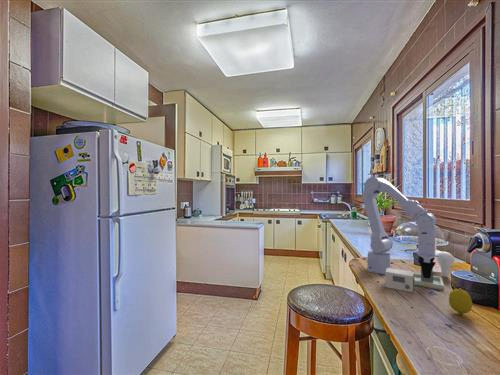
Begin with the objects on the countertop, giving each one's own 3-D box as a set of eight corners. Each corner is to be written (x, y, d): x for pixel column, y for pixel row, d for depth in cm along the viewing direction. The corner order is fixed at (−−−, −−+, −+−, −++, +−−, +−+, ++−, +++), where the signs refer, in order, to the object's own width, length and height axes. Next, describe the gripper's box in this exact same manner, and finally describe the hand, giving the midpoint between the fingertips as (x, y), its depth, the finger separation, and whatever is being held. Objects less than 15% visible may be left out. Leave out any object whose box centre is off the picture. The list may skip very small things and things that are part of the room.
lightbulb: (457, 279, 106) (457, 254, 106) (441, 278, 107) (441, 253, 107) (449, 274, 112) (449, 250, 112) (433, 274, 113) (433, 249, 113)
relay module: (421, 282, 102) (421, 269, 102) (421, 279, 105) (421, 267, 105) (433, 284, 99) (433, 271, 99) (432, 281, 103) (432, 268, 103)
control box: (385, 287, 98) (385, 272, 98) (387, 282, 103) (387, 267, 103) (414, 293, 93) (414, 277, 93) (414, 287, 98) (414, 272, 98)
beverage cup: (428, 267, 122) (428, 238, 122) (444, 270, 118) (444, 240, 118) (426, 270, 117) (426, 241, 117) (443, 273, 113) (443, 242, 113)
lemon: (466, 311, 79) (466, 286, 79) (476, 320, 74) (476, 293, 74) (445, 308, 81) (445, 284, 81) (453, 317, 76) (453, 290, 76)
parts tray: (410, 284, 101) (410, 280, 101) (411, 276, 110) (411, 272, 110) (443, 290, 95) (443, 285, 95) (441, 281, 104) (441, 277, 104)
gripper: (439, 247, 94) (439, 283, 94) (437, 240, 106) (437, 272, 106) (417, 245, 98) (417, 279, 98) (417, 238, 110) (417, 269, 110)
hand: (426, 275), depth 102 cm, fingers open, 5 cm apart
